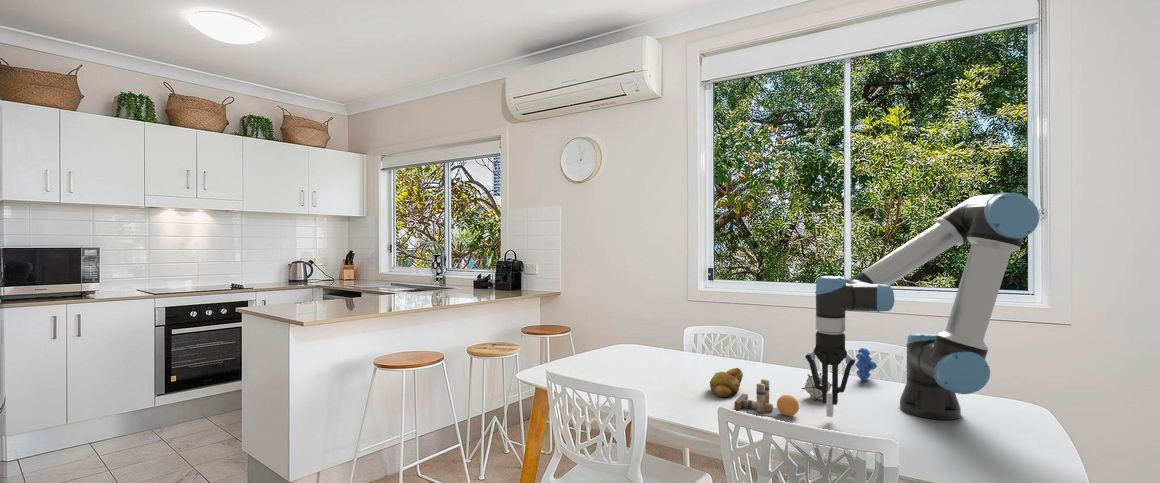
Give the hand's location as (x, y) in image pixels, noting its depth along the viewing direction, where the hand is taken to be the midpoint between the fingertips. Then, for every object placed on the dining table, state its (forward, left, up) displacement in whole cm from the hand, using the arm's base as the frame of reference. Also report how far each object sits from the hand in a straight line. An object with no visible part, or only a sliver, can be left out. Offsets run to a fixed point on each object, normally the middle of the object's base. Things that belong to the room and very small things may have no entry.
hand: (829, 415), depth 152 cm
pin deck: (+16, 0, -2) cm, 16 cm away
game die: (+6, -20, -2) cm, 21 cm away
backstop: (+25, -1, -2) cm, 25 cm away
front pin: (+16, 0, -1) cm, 16 cm away
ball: (+11, +1, +1) cm, 11 cm away
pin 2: (+18, -2, -2) cm, 19 cm away
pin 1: (+18, +2, -2) cm, 19 cm away
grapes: (-6, -50, -2) cm, 50 cm away
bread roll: (+33, -11, -2) cm, 35 cm away
